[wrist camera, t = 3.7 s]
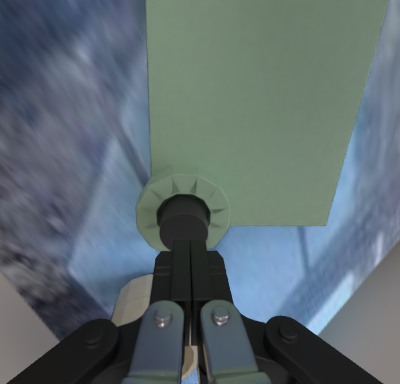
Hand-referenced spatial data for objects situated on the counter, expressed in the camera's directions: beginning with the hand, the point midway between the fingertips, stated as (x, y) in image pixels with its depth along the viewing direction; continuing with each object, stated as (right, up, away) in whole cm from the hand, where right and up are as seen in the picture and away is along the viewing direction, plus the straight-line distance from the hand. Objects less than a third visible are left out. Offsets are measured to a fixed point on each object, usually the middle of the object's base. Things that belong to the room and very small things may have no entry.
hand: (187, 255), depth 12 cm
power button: (0, +2, +3) cm, 4 cm away
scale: (+4, +8, +4) cm, 9 cm away
